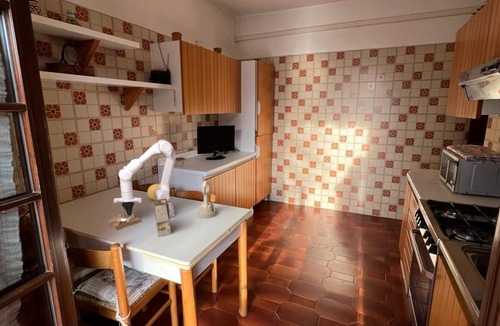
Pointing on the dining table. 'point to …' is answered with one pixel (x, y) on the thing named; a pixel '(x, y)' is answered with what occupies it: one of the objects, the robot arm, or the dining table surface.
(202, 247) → the dining table surface
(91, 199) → the dining table surface
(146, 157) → the robot arm
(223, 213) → the dining table surface
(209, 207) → the engine component
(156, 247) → the dining table surface
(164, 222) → the coffee box
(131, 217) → the sprocket
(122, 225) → the index board
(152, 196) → the sculpture
